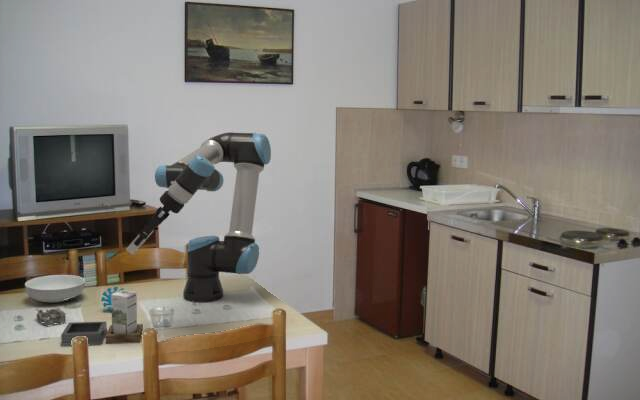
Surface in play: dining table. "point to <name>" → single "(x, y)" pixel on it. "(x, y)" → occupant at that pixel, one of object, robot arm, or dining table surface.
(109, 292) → the gear
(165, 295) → the dining table surface
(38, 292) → the serving bowl
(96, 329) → the dark grey square tray
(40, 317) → the grey lumpy mound
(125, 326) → the syrup box
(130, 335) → the walnut collar
